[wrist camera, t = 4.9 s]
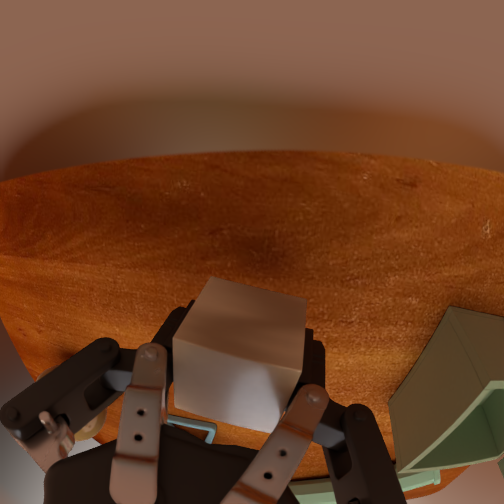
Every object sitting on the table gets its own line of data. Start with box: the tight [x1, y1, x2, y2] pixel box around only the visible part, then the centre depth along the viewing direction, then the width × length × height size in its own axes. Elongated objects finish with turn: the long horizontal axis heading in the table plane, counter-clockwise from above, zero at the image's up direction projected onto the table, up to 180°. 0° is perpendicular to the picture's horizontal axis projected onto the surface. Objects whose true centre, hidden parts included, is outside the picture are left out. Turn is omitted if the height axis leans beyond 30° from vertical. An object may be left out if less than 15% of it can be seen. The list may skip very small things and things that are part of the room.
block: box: [173, 276, 307, 433], centre depth 13 cm, size 5×5×5 cm
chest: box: [388, 306, 504, 473], centre depth 18 cm, size 15×13×9 cm
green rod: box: [288, 464, 440, 504], centre depth 31 cm, size 6×6×25 cm
